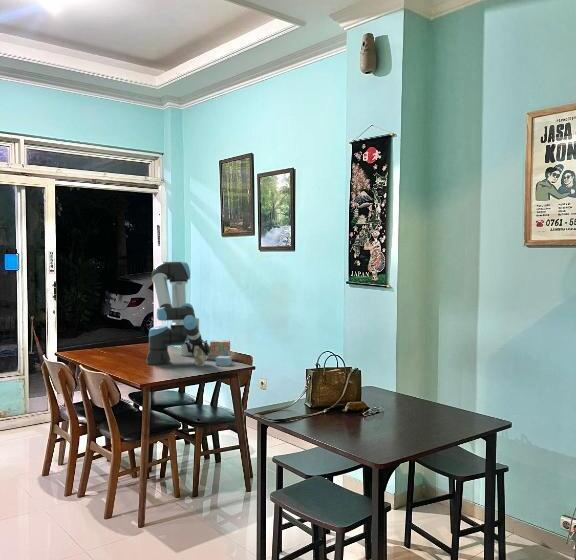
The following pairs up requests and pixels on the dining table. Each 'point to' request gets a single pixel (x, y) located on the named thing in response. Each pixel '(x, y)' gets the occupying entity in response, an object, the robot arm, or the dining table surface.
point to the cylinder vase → (184, 347)
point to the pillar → (199, 356)
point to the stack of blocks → (218, 349)
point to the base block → (223, 360)
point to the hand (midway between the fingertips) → (201, 357)
